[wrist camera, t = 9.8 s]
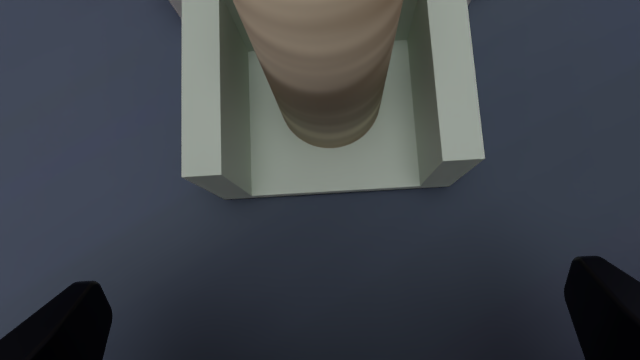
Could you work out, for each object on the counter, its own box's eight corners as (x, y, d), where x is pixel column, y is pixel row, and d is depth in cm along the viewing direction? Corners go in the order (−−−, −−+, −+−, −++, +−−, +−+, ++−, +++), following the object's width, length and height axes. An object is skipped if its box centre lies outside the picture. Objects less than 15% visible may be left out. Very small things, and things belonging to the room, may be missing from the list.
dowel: (361, 161, 19) (394, -37, 6) (266, 130, 19) (119, -114, 7) (393, 68, 19) (478, -281, 7) (299, 40, 20) (221, -337, 7)
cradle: (449, 186, 19) (484, 158, 14) (224, 199, 19) (181, 177, 14) (431, 9, 20) (458, -73, 15) (221, 26, 20) (181, -50, 16)
